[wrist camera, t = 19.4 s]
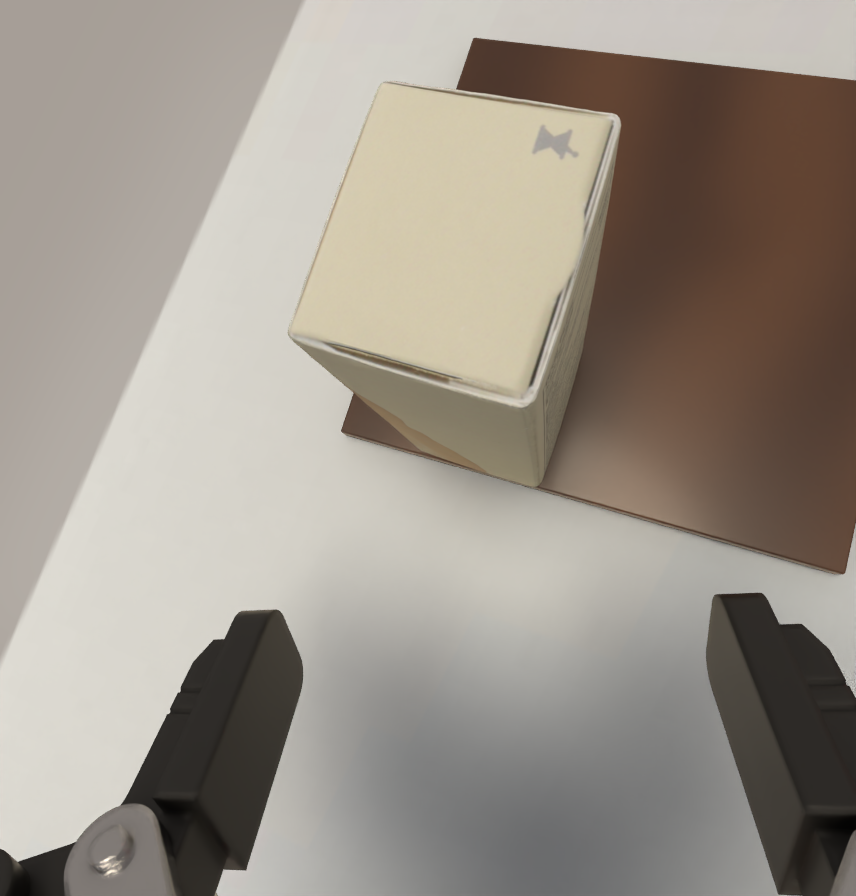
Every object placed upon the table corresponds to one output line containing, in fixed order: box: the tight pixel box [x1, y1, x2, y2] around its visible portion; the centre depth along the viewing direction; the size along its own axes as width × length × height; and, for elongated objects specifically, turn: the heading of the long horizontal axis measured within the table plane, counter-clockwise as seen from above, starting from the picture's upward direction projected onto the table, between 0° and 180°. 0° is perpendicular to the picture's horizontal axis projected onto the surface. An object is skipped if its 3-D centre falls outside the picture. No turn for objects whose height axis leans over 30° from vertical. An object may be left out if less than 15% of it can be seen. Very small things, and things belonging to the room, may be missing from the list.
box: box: [288, 81, 621, 487], centre depth 15 cm, size 5×4×11 cm
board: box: [341, 38, 856, 574], centre depth 21 cm, size 16×16×1 cm
